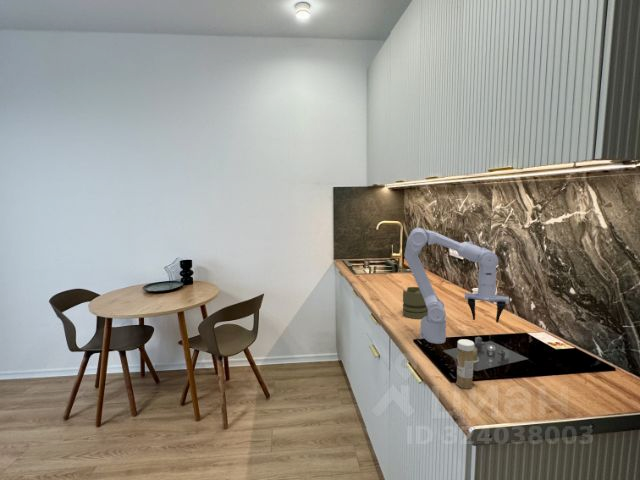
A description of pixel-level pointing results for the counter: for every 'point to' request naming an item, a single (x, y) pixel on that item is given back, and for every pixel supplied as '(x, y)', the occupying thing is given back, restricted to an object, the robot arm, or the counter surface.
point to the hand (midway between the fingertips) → (485, 320)
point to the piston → (414, 304)
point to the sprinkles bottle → (465, 363)
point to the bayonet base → (489, 355)
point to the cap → (475, 354)
